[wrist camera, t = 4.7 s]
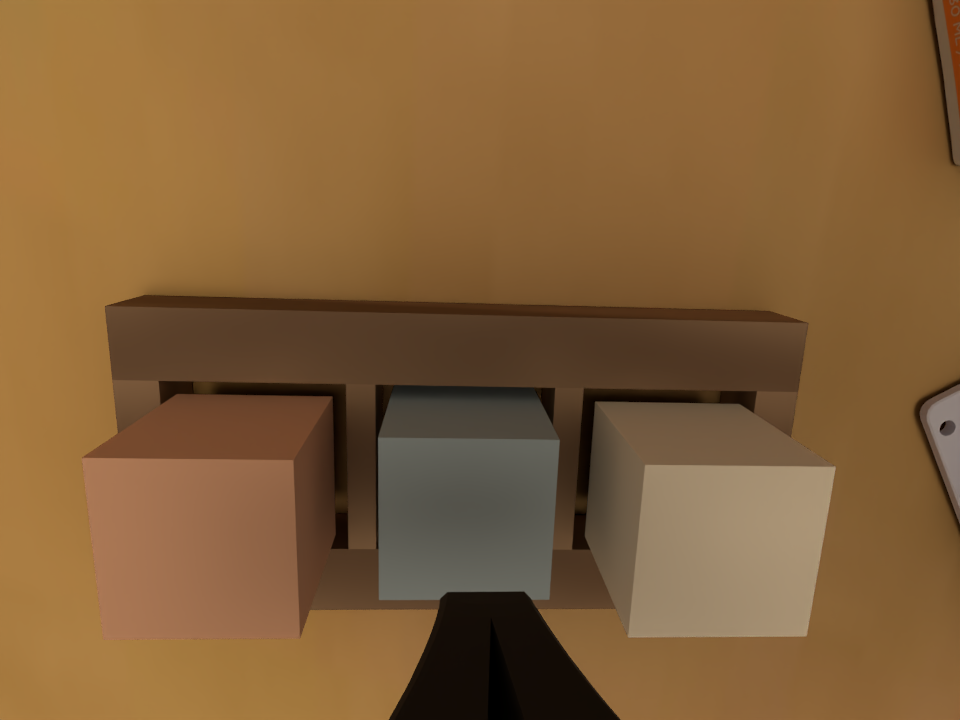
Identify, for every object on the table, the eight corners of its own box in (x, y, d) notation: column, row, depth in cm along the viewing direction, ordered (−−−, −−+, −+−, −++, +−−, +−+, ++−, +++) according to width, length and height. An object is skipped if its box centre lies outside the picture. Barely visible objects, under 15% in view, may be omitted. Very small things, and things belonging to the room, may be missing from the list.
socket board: (733, 569, 22) (764, 608, 20) (168, 568, 21) (136, 610, 18) (769, 311, 20) (808, 323, 17) (144, 295, 19) (104, 306, 16)
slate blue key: (526, 513, 20) (549, 599, 16) (394, 512, 20) (378, 600, 15) (533, 386, 19) (559, 440, 15) (394, 383, 19) (378, 437, 14)
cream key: (721, 536, 19) (807, 636, 15) (584, 536, 19) (628, 637, 14) (739, 403, 18) (835, 467, 14) (595, 401, 18) (645, 464, 13)
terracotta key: (335, 534, 18) (300, 638, 14) (188, 533, 18) (103, 640, 14) (332, 396, 17) (293, 460, 13) (176, 394, 17) (82, 457, 13)
